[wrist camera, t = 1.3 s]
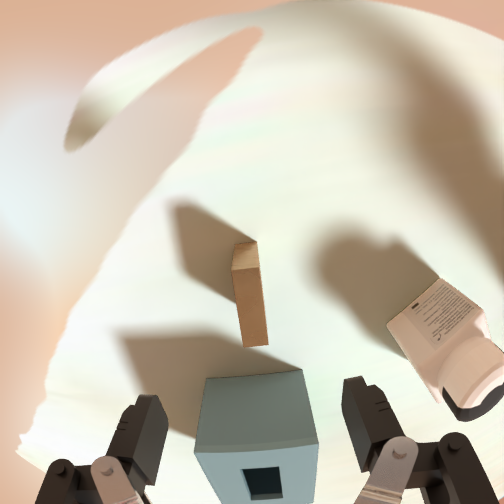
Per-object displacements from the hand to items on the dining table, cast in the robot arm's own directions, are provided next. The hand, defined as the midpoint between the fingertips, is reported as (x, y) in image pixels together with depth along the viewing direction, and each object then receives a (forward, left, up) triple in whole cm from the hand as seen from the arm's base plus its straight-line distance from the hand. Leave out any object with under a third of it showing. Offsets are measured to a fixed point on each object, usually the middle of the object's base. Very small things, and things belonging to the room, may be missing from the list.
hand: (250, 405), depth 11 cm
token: (0, 0, -15) cm, 15 cm away
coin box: (+1, +18, -15) cm, 23 cm away
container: (-18, +8, -15) cm, 25 cm away
